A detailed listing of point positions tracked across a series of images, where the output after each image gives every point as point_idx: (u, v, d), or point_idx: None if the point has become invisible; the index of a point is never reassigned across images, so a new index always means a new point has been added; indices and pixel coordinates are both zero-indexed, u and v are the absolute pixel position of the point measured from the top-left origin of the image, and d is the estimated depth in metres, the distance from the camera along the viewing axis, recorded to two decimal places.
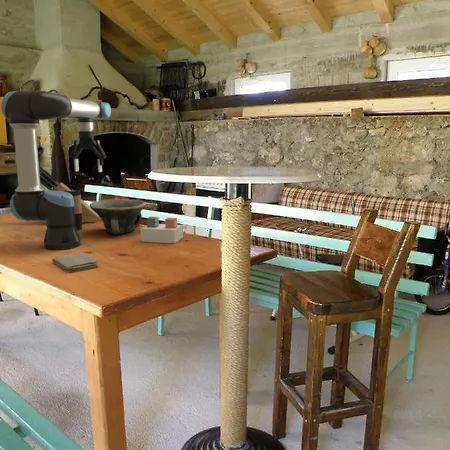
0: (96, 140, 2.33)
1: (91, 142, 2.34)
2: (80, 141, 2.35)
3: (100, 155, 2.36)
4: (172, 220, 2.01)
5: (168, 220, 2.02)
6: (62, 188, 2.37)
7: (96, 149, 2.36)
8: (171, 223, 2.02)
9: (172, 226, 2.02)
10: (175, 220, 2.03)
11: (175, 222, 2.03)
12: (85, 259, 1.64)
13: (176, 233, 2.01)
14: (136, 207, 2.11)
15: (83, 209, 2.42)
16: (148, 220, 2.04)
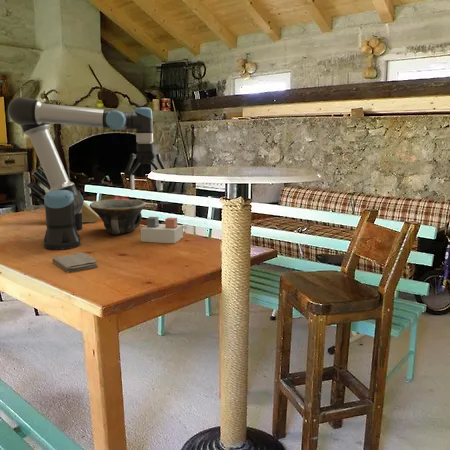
0: (157, 154, 2.00)
1: (151, 156, 2.01)
2: (138, 155, 2.02)
3: None
4: (172, 220, 2.01)
5: (168, 220, 2.02)
6: None
7: (156, 164, 2.04)
8: (171, 223, 2.02)
9: (172, 226, 2.02)
10: (175, 220, 2.03)
11: (175, 222, 2.03)
12: (85, 259, 1.64)
13: (176, 233, 2.01)
14: (136, 207, 2.11)
15: (83, 209, 2.42)
16: (148, 220, 2.04)
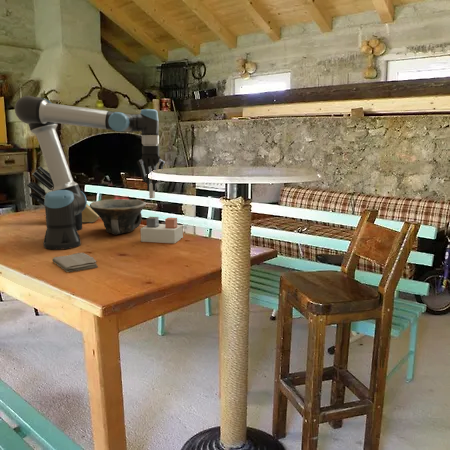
0: (162, 161, 1.98)
1: (156, 159, 1.98)
2: (143, 157, 2.00)
3: None
4: (172, 220, 2.01)
5: (168, 220, 2.02)
6: None
7: None
8: (171, 223, 2.02)
9: (172, 226, 2.02)
10: (175, 220, 2.03)
11: (175, 222, 2.03)
12: (85, 259, 1.64)
13: (176, 233, 2.01)
14: (136, 207, 2.11)
15: None
16: (148, 220, 2.04)
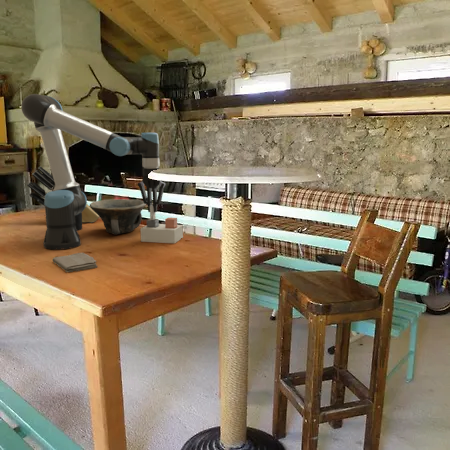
0: (163, 184, 2.00)
1: (157, 181, 2.00)
2: (143, 180, 2.02)
3: (156, 201, 2.04)
4: (172, 220, 2.01)
5: (168, 220, 2.02)
6: None
7: (156, 192, 2.04)
8: (171, 223, 2.02)
9: (172, 226, 2.02)
10: (175, 220, 2.03)
11: (175, 222, 2.03)
12: (84, 259, 1.64)
13: (176, 233, 2.01)
14: (136, 207, 2.11)
15: None
16: (148, 222, 2.04)
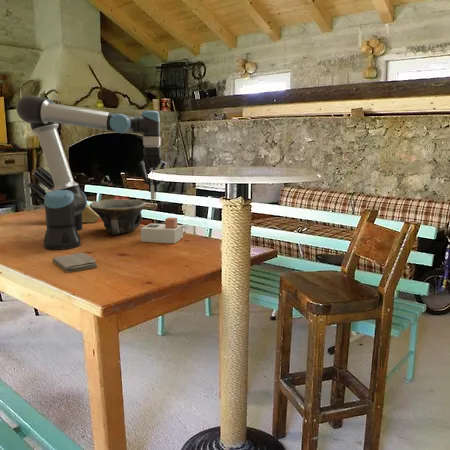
0: (164, 163, 1.98)
1: (158, 160, 1.98)
2: (144, 159, 2.00)
3: None
4: (172, 220, 2.01)
5: (168, 220, 2.02)
6: None
7: None
8: (171, 223, 2.02)
9: (172, 226, 2.02)
10: (175, 220, 2.03)
11: (175, 222, 2.03)
12: (84, 259, 1.64)
13: (176, 233, 2.01)
14: (136, 207, 2.11)
15: (84, 209, 2.42)
16: None
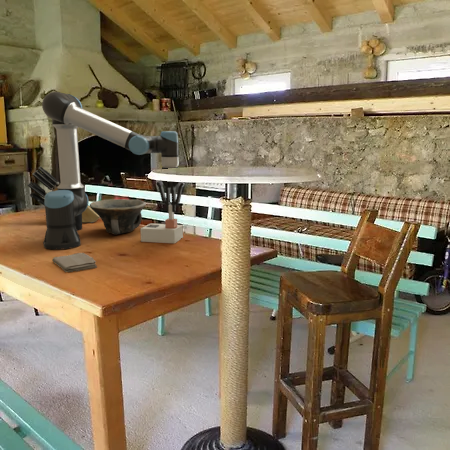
0: (182, 183, 1.98)
1: None
2: None
3: (175, 200, 2.02)
4: (172, 221, 2.01)
5: (168, 221, 2.02)
6: None
7: (175, 191, 2.02)
8: (171, 224, 2.02)
9: (172, 227, 2.02)
10: (175, 221, 2.03)
11: (175, 223, 2.03)
12: (84, 259, 1.64)
13: (176, 233, 2.01)
14: (136, 207, 2.11)
15: None
16: None
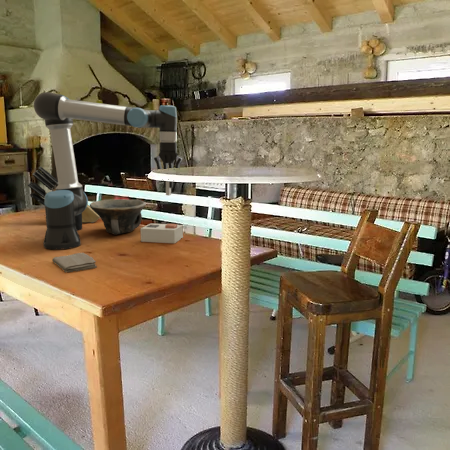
0: (180, 158, 1.96)
1: (174, 155, 1.97)
2: (160, 154, 1.98)
3: None
4: (172, 226, 2.02)
5: (168, 226, 2.02)
6: None
7: None
8: None
9: None
10: (175, 226, 2.03)
11: None
12: (84, 259, 1.64)
13: (176, 233, 2.01)
14: (136, 207, 2.11)
15: None
16: None
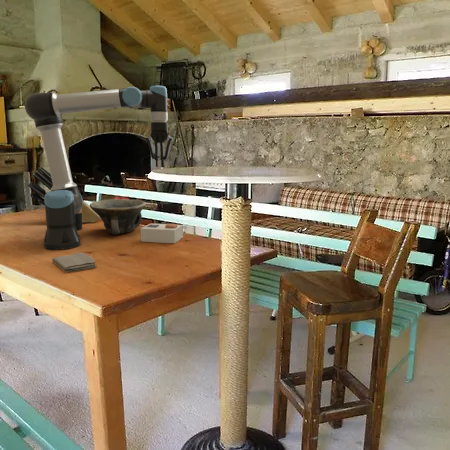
0: (171, 138, 2.00)
1: (165, 135, 2.01)
2: (151, 134, 2.02)
3: (164, 156, 2.04)
4: (172, 226, 2.02)
5: (168, 226, 2.02)
6: None
7: (164, 147, 2.04)
8: None
9: None
10: (175, 226, 2.03)
11: None
12: (84, 259, 1.64)
13: (176, 233, 2.01)
14: (136, 207, 2.11)
15: (84, 209, 2.42)
16: None
